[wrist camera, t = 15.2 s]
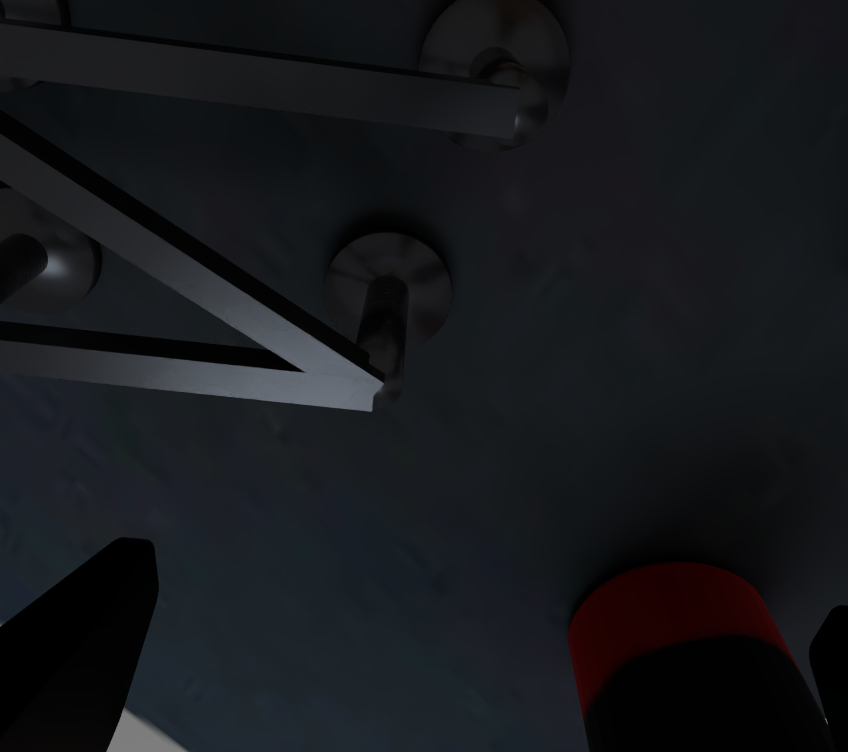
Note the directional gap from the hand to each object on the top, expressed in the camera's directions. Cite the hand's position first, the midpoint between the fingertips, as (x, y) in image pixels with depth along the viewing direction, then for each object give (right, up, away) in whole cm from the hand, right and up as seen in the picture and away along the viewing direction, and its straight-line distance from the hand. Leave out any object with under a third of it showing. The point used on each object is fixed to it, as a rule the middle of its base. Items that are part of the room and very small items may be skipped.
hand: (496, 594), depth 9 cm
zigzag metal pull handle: (-6, +8, +9) cm, 14 cm away
